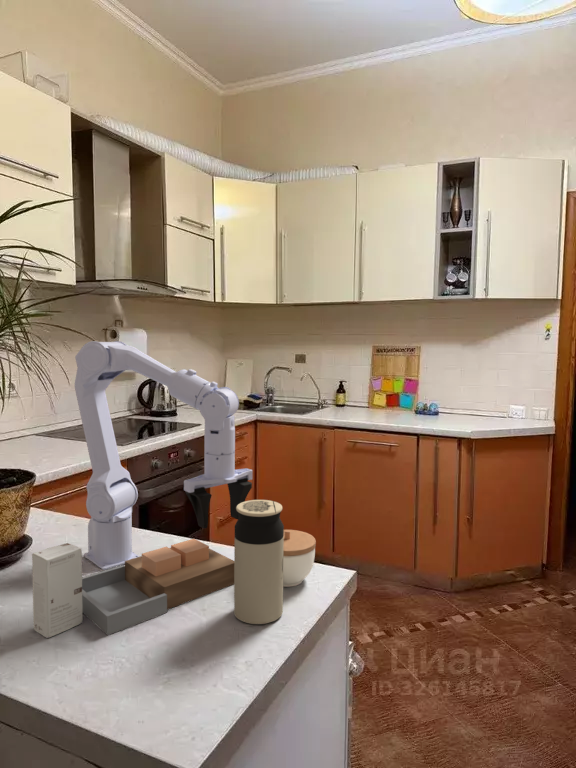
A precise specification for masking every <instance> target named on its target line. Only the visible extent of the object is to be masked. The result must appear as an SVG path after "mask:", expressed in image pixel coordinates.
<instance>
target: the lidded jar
mask: <svg viewBox="0 0 576 768" xmlns="http://www.w3.org/2000/svg"><path fill="white" fill-rule="evenodd" d="M316 544H317V541H316V538H315V537H314V536H313V535H312V534H310V533H308V532H306V531H302V530H296V529H284V547H283V588H287V587H288V588H290V587H296V586H299V585H300V584H302V583H303V581H304V580H305V579H306V578H308V576H309V575H310V573H311V571H312V569H313V566H314V563H315V558H316V557H315V556H316Z"/></svg>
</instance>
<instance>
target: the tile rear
mask: <svg viewBox="0 0 576 768" xmlns="http://www.w3.org/2000/svg"><path fill="white" fill-rule="evenodd" d="M170 548H171V549H172V550H173V551H175V552H177V553H179V554H181V564H182V565H184V566H190V565H193V564H196V563H199V562H202V561H205V560H208V559H209V549H210V545H209V544H208V545H207V544H205V543H204V542H202V541H200V540H198V539H195V538H192V539H188V540H184V541H181V542H177V543H174V544H171V545H170Z"/></svg>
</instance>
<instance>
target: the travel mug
mask: <svg viewBox="0 0 576 768" xmlns="http://www.w3.org/2000/svg"><path fill="white" fill-rule="evenodd" d="M236 510H237V511H238V515H239V519H236V523H235V524H234V550H233V551H234V559H233V561H234V584H233V585H234V588H233V589H234V590H233V591H234V593H233V594H234V596H233V598H234V599H233V603H234V604H233V606H234V607H233V610H234V612H233V614H234V616H235V617H236V618H237V619H238V620H239V621H241V622H244V623H247V624H251V625H265V624H270V623H271V622H275V621H277V620H278V619H280V617H282V615H283V611H284V608H283V607H284V606H283V605H284V603H283V602H284V587H283V547H284V530H285V529H284V527H285V525H284V523H283V521H282V520H281V512H282V511H283V505H282V504H281V503H279V502H277V501H274V500H270V499H269V500H268V499H251V500H245V502H242V503H240V504H238V505H237V507H236Z"/></svg>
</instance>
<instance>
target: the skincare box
mask: <svg viewBox="0 0 576 768" xmlns="http://www.w3.org/2000/svg"><path fill="white" fill-rule="evenodd" d="M82 554H83V553H82V548H81V547H79V546H76V545H74V544H72V543H68V542H66V543H63V544H60V545H55V546H51V547H48V548H45V549H42V550H39V551H36V552H33V553H32V554H31V562H32V566H31V568H32V570H31V571H32V610H33V611H32V613H33V614H32V615H33V616H32V617H33V623H32V625H33V630H34V631H35V632H37V633H38V634H39V635H41V636H43V637H45V638H46V639H49V638H51V637H54V636H56V635H58V634H61V633H63V632H65V631H68V630H70V629H72V628H74V627H76V626H78V625H81V624H82V623H83V622H84V621H83V619H84V617H83V616H84V613H83V612H82V577H83V565H82V563H83V558H82V557H83V555H82Z"/></svg>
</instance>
